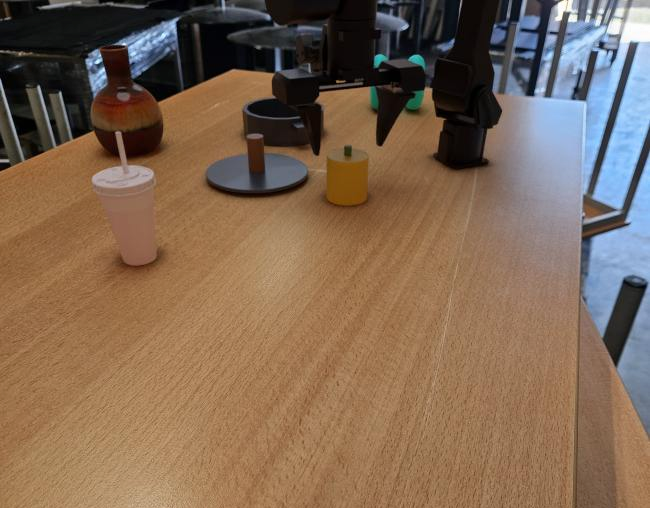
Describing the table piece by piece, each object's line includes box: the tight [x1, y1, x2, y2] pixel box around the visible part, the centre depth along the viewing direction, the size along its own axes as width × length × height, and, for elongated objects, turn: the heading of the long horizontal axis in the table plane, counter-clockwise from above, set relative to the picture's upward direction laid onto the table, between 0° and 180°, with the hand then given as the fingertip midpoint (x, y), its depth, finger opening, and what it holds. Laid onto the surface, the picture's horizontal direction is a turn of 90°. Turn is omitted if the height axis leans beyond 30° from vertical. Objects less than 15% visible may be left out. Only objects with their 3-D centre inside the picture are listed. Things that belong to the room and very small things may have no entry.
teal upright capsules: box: [369, 53, 426, 111], centre depth 112 cm, size 10×10×10 cm
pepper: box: [325, 144, 370, 207], centre depth 77 cm, size 6×6×7 cm
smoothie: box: [91, 132, 158, 267], centre depth 61 cm, size 6×6×14 cm
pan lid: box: [205, 134, 309, 194], centre depth 83 cm, size 15×15×6 cm
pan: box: [241, 96, 325, 147], centre depth 101 cm, size 14×19×4 cm
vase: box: [89, 44, 164, 157], centre depth 90 cm, size 11×11×15 cm
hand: (348, 150), depth 75 cm, fingers open, 9 cm apart
